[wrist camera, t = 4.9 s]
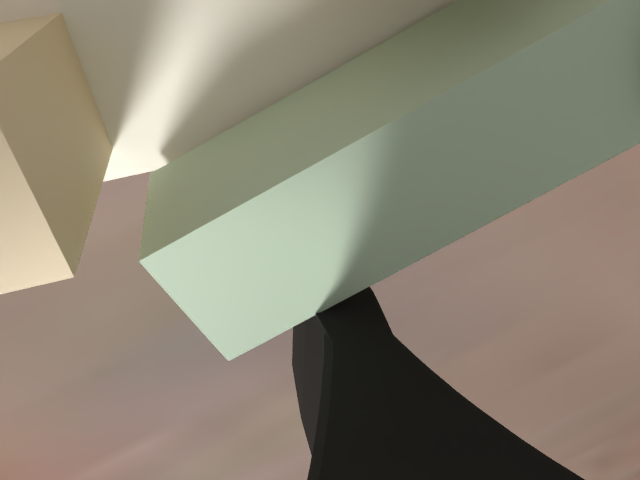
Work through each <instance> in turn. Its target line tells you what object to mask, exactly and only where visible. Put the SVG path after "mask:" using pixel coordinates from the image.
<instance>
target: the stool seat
mask: <svg viewBox="0 0 640 480" xmlns="http://www.w3.org/2000/svg"><path fill="white" fill-rule="evenodd" d="M455 1H457V0H0V294H4V293H8V292H12V291H17V290H21V289H25V288H30V287H34V286H38V285H42V284H47V283H51V282H55V281H60V280H64V279H68V278H73V277H74V276H75V273H76V269H77V266H78V263H79V259H80V256H81V253H82V249H83V246H84V243H85V239H86V236H87V233H88V229H89V226H90V223H91V220H92V216H93V213H94V210H95V206H96V203H97V200H98V196H99V193H100V190H101V186H102V183H103V181H108V180H112V179H117V178H122V177H126V176H131V175H136V174H140V173H145V172H150V171H154V170H158V169H159V168H161V167H163V166H165V165H166V164H168V163H170V162H172V161H174V160H175V159H177V158H179V157H181V156H182V155H184V154H186V153H188V152H189V151H191V150H193V149H195V148H197V147H198V146H200V145H202V144H204V143H205V142H207V141H209V140H211V139H213V138H214V137H216V136H218V135H220V134H221V133H223V132H225V131H227V130H228V129H230V128H232V127H234V126H236V125H237V124H239V123H241V122H243V121H244V120H246V119H248V118H250V117H251V116H253V115H255V114H257V113H259V112H260V111H262V110H264V109H266V108H267V107H269V106H271V105H273V104H275V103H276V102H278V101H280V100H282V99H283V98H285V97H287V96H289V95H290V94H292V93H294V92H296V91H298V90H299V89H301V88H303V87H305V86H306V85H308V84H310V83H312V82H314V81H315V80H317V79H319V78H321V77H322V76H324V75H326V74H328V73H329V72H331V71H333V70H335V69H337V68H338V67H340V66H342V65H344V64H345V63H347V62H349V61H351V60H352V59H354V58H356V57H358V56H360V55H361V54H363V53H365V52H367V51H368V50H370V49H372V48H374V47H376V46H377V45H379V44H381V43H383V42H384V41H386V40H388V39H390V38H391V37H393V36H395V35H397V34H399V33H400V32H402V31H404V30H406V29H407V28H409V27H411V26H413V25H415V24H416V23H418V22H420V21H422V20H423V19H425V18H427V17H429V16H430V15H432V14H434V13H436V12H438V11H439V10H441V9H443V8H445V7H446V6H448V5H450V4H452V3H453V2H455Z"/></svg>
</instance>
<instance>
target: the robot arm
mask: <svg viewBox="0 0 640 480" xmlns="http://www.w3.org/2000/svg"><path fill="white" fill-rule="evenodd" d="M292 366H293V372H294V378H295V385H296V391H297V397H298V403H299V408H300V414H301V419H302V423H303V426H304V430H305V434H306V437H307V441H308V444H309V448H310V451H311V455H312V458H311V464H310V469H309V474H308V479H307V480H584V479H583V478H581V477H579V476H578V475H576V474H575V473H573V472H571V471H570V470H568V469H567V468H565V467H563V466H562V465H560V464H559V463H557V462H555V461H554V460H552V459H551V458H549V457H548V456H546V455H545V454H543V453H542V452H540V451H539V450H537V449H536V448H534V447H533V446H531V445H530V444H528V443H527V442H525V441H524V440H522V439H521V438H519V437H518V436H516V435H515V434H514V433H512V432H511V431H509V430H508V429H507V428H505V427H504V426H503V425H501V424H500V423H498V422H497V421H496V420H494V419H493V418H491V417H490V416H489V415H487V414H486V413H485V412H483V411H482V410H480V409H479V408H478V407H476V406H475V405H474V404H472V403H471V402H470V401H469V400H467V399H466V398H465V397H463V396H462V395H461V394H460V393H458V392H457V391H456V390H455V389H453V388H452V387H451V386H450V385H449V384H447V383H446V382H445V381H444V380H443V379H442V378H440V377H439V376H438V375H437V374H436V373H434V372H433V371H432V370H431V369H430V368H429V367H427V366H426V365H425V364H424V363H423V362H422V361H421V360H420V359H418V358H417V357H416V356H415V355H414V354H413V353H412V352H411V351H410V350H409V349H408V348H407V347H405V346H404V345H403V344H402V343H401V342H400V341H399V340H398V339H397V338H396V337H395V336H394V335H393V333H392V331H391V329H390V327H389V325H388V322H387V320H386V318H385V316H384V314H383V311H382V309H381V307H380V305H379V303H378V301H377V299H376V297H375V294H374V292H373V291H372V290H371V288H370V287H367V288H366V289H364V290H362V291H360V292H358V293H356V294H354V295H352V296H350V297H349V298H347V299H345V300H343V301H341V302H339V303H337V304H335V305H334V306H332V307H330V308H328V309H326V310H324V311H322V312H319V313H316V314H315V316H313V317H311V318H309V319H307V320H305V321H303V322H301V323H300V324H298V325H296V326H294V327H293V355H292Z"/></svg>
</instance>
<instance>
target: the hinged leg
mask: <svg viewBox="0 0 640 480" xmlns="http://www.w3.org/2000/svg"><path fill="white" fill-rule="evenodd" d="M639 143H640V0H457V1H455V2H453V3H452V4H450V5H448V6H446V7H445V8H443V9H441V10H439V11H438V12H436V13H434V14H432V15H430V16H429V17H427V18H425V19H423V20H422V21H420V22H418V23H416V24H415V25H413V26H411V27H409V28H407V29H406V30H404V31H402V32H400V33H399V34H397V35H395V36H393V37H391V38H390V39H388V40H386V41H384V42H383V43H381V44H379V45H377V46H376V47H374V48H372V49H370V50H368V51H367V52H365V53H363V54H361V55H360V56H358V57H356V58H354V59H352V60H351V61H349V62H347V63H345V64H344V65H342V66H340V67H338V68H337V69H335V70H333V71H331V72H329V73H328V74H326V75H324V76H322V77H321V78H319V79H317V80H315V81H314V82H312V83H310V84H308V85H306V86H305V87H303V88H301V89H299V90H298V91H296V92H294V93H292V94H290V95H289V96H287V97H285V98H283V99H282V100H280V101H278V102H276V103H275V104H273V105H271V106H269V107H267V108H266V109H264V110H262V111H260V112H259V113H257V114H255V115H253V116H251V117H250V118H248V119H246V120H244V121H243V122H241V123H239V124H237V125H236V126H234V127H232V128H230V129H228V130H227V131H225V132H223V133H221V134H220V135H218V136H216V137H214V138H213V139H211V140H209V141H207V142H205V143H204V144H202V145H200V146H198V147H197V148H195V149H193V150H191V151H189V152H188V153H186V154H184V155H182V156H181V157H179V158H177V159H175V160H174V161H172V162H170V163H168V164H166V165H165V166H163V167H161V168H159V169H158V170H156V171H154V172H152V173H150V178H149V186H148V194H147V202H146V209H145V217H144V225H143V233H142V240H141V248H140V256H139V262H140V263H141V264H142V265H143V267H144V268H145V269H146V270H147V271H148V272H149V273H150V274H151V275H152V277H153V278H154V279H155V280H156V281H157V282H158V283H159V284H160V285H161V287H162V288H163V289H164V290H165V291H166V292H167V293H168V294H169V296H170V297H171V298H172V299H173V300H174V301H175V302H176V303H177V304H178V306H179V307H180V308H181V309H182V310H183V311H184V312H185V313H186V314H187V316H188V317H189V318H190V319H191V320H192V321H193V322H194V323H195V325H196V326H197V327H198V328H199V329H200V330H201V331H202V332H203V333H204V335H205V336H206V337H207V338H208V339H209V340H210V341H211V342H212V343H213V345H214V346H215V347H216V348H217V349H218V350H219V351H220V352H221V354H222V355H223V356H224V357H225V358H226V359H227V360H228V361H230V360H232V359H234V358H235V357H237V356H239V355H241V354H243V353H245V352H247V351H249V350H251V349H252V348H254V347H256V346H258V345H260V344H262V343H264V342H266V341H268V340H269V339H271V338H273V337H275V336H277V335H279V334H281V333H283V332H284V331H286V330H288V329H290V328H292V327H294V326H296V325H298V324H300V323H301V322H303V321H305V320H307V319H309V318H311V317H313V316H315V314H316V313H319V312H322V311H324V310H326V309H328V308H330V307H332V306H334V305H335V304H337V303H339V302H341V301H343V300H345V299H347V298H349V297H350V296H352V295H354V294H356V293H358V292H360V291H362V290H364V289H366V288H367V287H369V286H371V285H373V284H375V283H377V282H379V281H381V280H383V279H384V278H386V277H388V276H390V275H392V274H394V273H396V272H398V271H399V270H401V269H403V268H405V267H407V266H409V265H411V264H413V263H415V262H416V261H418V260H420V259H422V258H424V257H426V256H428V255H430V254H432V253H433V252H435V251H437V250H439V249H441V248H443V247H445V246H447V245H449V244H450V243H452V242H454V241H456V240H458V239H460V238H462V237H464V236H465V235H467V234H469V233H471V232H473V231H475V230H477V229H479V228H481V227H482V226H484V225H486V224H488V223H490V222H492V221H494V220H496V219H498V218H499V217H501V216H503V215H505V214H507V213H509V212H511V211H513V210H515V209H516V208H518V207H520V206H522V205H524V204H526V203H528V202H530V201H531V200H533V199H535V198H537V197H539V196H541V195H543V194H545V193H547V192H548V191H550V190H552V189H554V188H556V187H558V186H560V185H562V184H564V183H565V182H567V181H569V180H571V179H573V178H575V177H577V176H579V175H580V174H582V173H584V172H586V171H588V170H590V169H592V168H594V167H596V166H597V165H599V164H601V163H603V162H605V161H607V160H609V159H611V158H613V157H614V156H616V155H618V154H620V153H622V152H624V151H626V150H628V149H630V148H631V147H633V146H635V145H637V144H639Z"/></svg>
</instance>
